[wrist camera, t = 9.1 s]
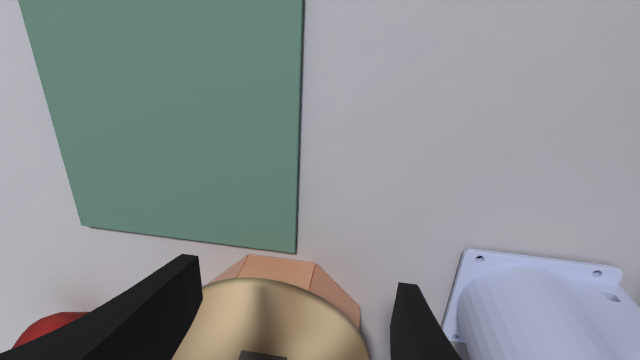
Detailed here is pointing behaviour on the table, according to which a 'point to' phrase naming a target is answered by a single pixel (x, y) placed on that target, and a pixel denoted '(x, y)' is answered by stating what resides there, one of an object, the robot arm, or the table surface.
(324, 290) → the bowl
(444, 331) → the robot arm
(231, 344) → the lid
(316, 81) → the table surface
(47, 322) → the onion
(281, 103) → the mat
